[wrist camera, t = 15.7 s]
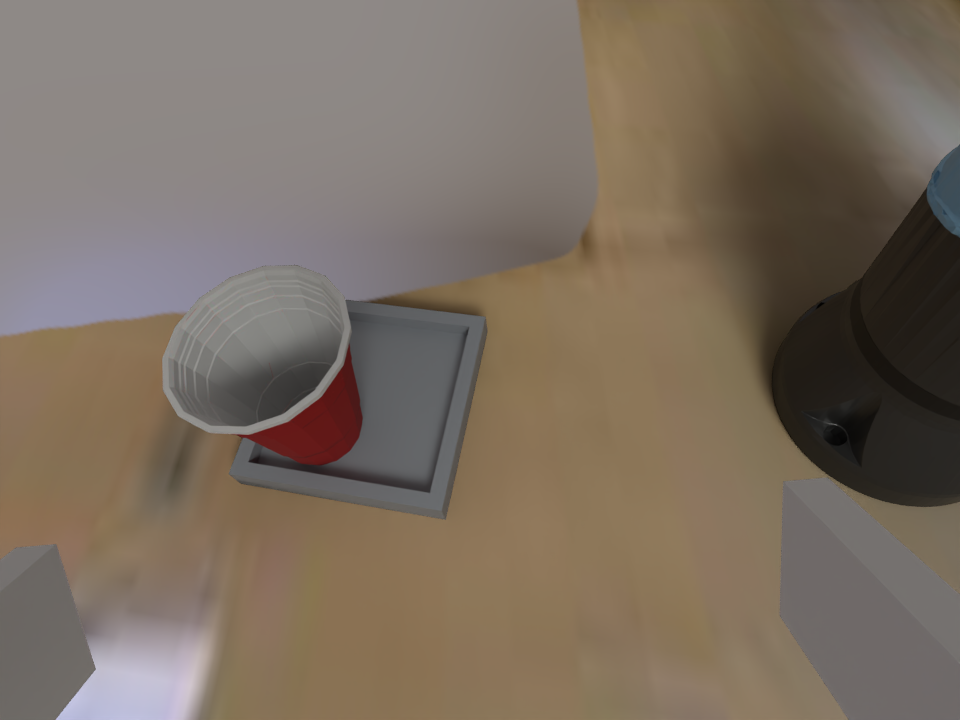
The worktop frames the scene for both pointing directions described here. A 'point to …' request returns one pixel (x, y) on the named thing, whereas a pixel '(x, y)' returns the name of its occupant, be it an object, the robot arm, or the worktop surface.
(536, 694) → the worktop surface
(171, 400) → the plastic cup
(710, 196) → the worktop surface
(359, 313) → the tray
